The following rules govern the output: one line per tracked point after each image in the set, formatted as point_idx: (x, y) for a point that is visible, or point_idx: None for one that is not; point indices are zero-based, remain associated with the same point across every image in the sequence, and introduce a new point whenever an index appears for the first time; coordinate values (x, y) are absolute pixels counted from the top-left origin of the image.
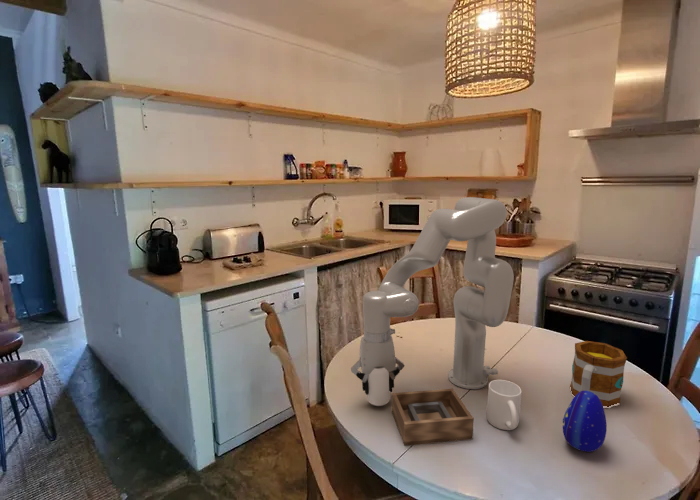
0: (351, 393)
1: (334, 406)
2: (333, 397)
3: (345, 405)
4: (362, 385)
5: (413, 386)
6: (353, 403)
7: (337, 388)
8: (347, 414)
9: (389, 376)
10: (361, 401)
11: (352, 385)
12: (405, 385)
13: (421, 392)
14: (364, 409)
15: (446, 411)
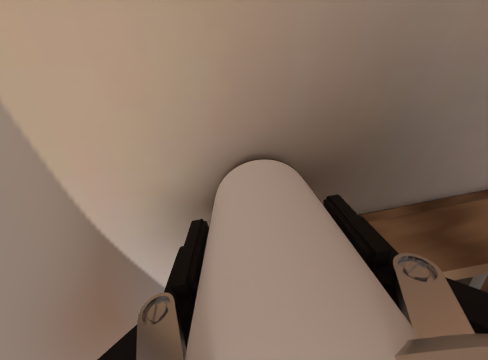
0: (130, 122)
1: (92, 217)
2: (57, 161)
3: (132, 208)
4: (177, 263)
5: (455, 29)
6: (160, 194)
7: (34, 76)
8: (155, 249)
9: None
10: (190, 179)
11: (110, 34)
12: (417, 19)
13: (473, 275)
14: (208, 222)
15: (478, 284)
